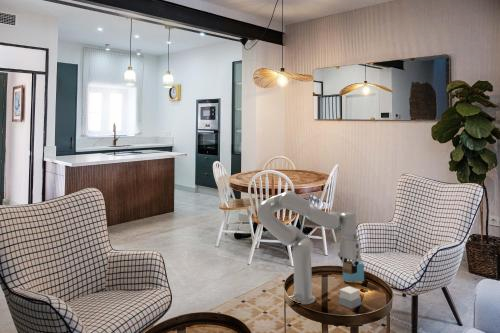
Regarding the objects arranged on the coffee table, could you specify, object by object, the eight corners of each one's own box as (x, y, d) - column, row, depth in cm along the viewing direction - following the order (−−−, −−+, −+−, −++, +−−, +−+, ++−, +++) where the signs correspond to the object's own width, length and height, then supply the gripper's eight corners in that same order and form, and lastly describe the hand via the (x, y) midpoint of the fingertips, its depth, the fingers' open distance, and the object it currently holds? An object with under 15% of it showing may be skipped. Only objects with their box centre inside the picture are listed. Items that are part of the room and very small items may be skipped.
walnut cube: (351, 274, 188) (350, 264, 188) (343, 272, 192) (342, 262, 192) (357, 272, 191) (357, 262, 191) (349, 269, 195) (349, 260, 195)
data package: (363, 281, 224) (363, 261, 223) (364, 284, 219) (363, 264, 218) (343, 280, 227) (342, 260, 226) (343, 282, 222) (342, 263, 222)
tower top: (350, 301, 188) (350, 293, 188) (339, 296, 194) (339, 289, 194) (359, 297, 192) (359, 290, 192) (348, 293, 198) (348, 286, 198)
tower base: (351, 309, 188) (351, 301, 187) (338, 304, 194) (338, 297, 194) (361, 305, 192) (361, 297, 192) (348, 300, 199) (348, 292, 199)
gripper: (367, 238, 186) (368, 274, 187) (340, 232, 200) (341, 266, 201) (358, 241, 182) (359, 277, 183) (331, 235, 195) (332, 269, 196)
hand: (350, 271), depth 192 cm, fingers closed on walnut cube, 4 cm apart
